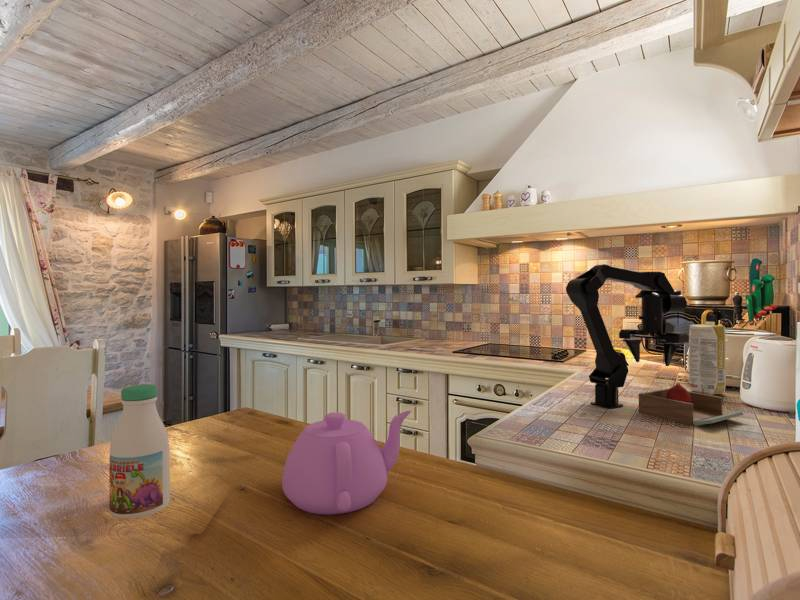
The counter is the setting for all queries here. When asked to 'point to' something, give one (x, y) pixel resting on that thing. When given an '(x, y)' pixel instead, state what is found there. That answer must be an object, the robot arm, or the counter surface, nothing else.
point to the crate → (680, 406)
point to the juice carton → (707, 358)
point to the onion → (678, 393)
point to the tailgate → (718, 418)
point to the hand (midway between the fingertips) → (652, 364)
